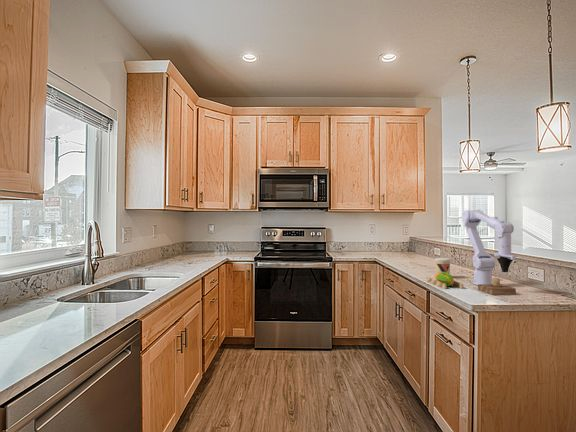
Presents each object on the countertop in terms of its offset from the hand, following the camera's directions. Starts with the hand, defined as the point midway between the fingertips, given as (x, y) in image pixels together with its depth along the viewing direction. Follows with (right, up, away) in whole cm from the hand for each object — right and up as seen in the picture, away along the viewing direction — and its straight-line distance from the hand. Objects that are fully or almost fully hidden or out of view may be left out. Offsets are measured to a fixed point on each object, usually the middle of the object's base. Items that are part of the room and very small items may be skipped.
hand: (505, 272), depth 177 cm
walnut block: (-6, -10, -2) cm, 12 cm away
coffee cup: (-13, -11, +42) cm, 45 cm away
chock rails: (-23, -10, +19) cm, 31 cm away
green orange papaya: (-24, -11, +19) cm, 32 cm away
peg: (-6, -10, -2) cm, 12 cm away
